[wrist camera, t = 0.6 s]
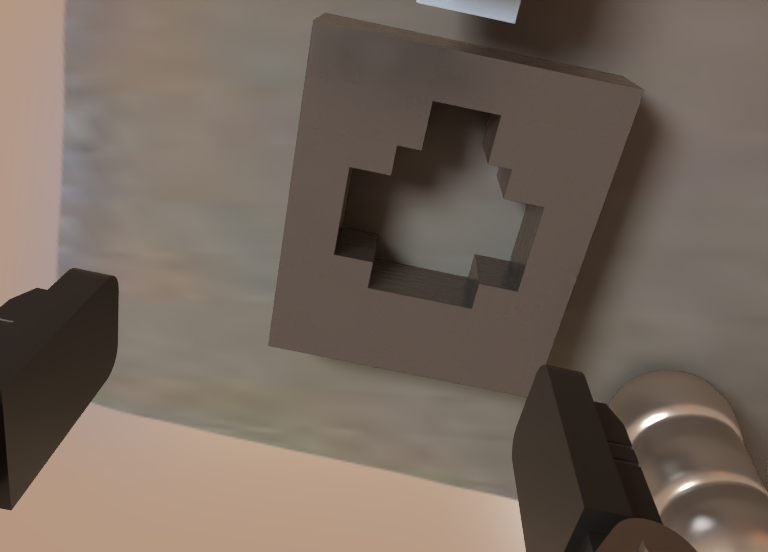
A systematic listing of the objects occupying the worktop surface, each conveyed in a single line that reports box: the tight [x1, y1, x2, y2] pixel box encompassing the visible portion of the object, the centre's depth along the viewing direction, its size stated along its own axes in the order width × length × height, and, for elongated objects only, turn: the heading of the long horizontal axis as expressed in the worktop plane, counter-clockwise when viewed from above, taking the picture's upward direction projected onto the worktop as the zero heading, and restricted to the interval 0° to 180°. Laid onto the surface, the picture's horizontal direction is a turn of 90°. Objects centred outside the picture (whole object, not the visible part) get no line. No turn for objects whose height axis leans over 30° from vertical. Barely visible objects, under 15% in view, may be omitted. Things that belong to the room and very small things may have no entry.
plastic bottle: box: [608, 370, 768, 552], centre depth 30 cm, size 6×7×20 cm
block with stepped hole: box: [268, 13, 645, 397], centre depth 33 cm, size 16×14×4 cm
